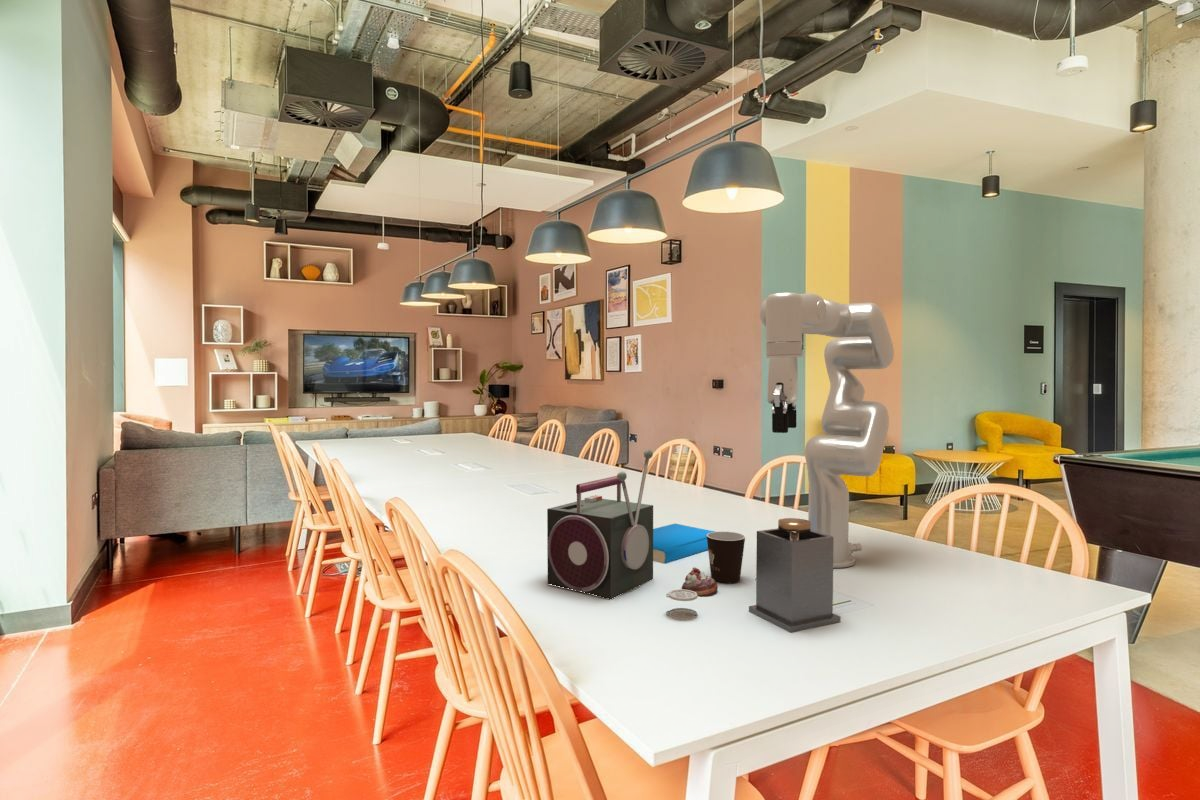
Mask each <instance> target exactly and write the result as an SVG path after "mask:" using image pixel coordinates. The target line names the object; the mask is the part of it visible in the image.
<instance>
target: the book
mask: <svg viewBox="0 0 1200 800" xmlns="http://www.w3.org/2000/svg"><path fill="white" fill-rule="evenodd" d="M712 532H716V531H714V530H709V529H705V528H700V527H694V526H689V525H684V524H680V523H671V524H668V525H663V526H660V527H655V528H653V562H657V563H661V564H667V562H668V563H671V562H674V561H677V560H680V559H683V557H684V558H687V557H689V556H693V555H696V554H700V553H702V552H705V551H708V544H707V534H708V533H712ZM670 561H671V562H670Z"/></svg>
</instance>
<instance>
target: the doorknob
mask: <svg viewBox="0 0 1200 800" xmlns="http://www.w3.org/2000/svg"><path fill="white" fill-rule="evenodd" d="M777 523H778V524H777V526H778V529H779V530H781V531H785V532H790V541H797V540H799V533H806V532H810V531H811V522H810V521H808V520H807V519H803V518H797V517H795V518H794V517H787V518H786V517H785V518H779V519H778V522H777Z"/></svg>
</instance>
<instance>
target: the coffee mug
mask: <svg viewBox="0 0 1200 800" xmlns="http://www.w3.org/2000/svg"><path fill="white" fill-rule="evenodd" d="M745 542H746V536H745V534H742V533H739V532H735V531H715V532H712V533H708V534H707V544H708V550H707V551H708V559H709V570H710V577H711V578H713V579H714V580H715V581H716V583H717V584H722V585H724V584H725V585H732V584H737V583H739V582H740V580H741V574H742V567H743V566H742V565H743V558H744V551H745V550H744V549H745Z"/></svg>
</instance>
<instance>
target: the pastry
mask: <svg viewBox="0 0 1200 800" xmlns="http://www.w3.org/2000/svg"><path fill="white" fill-rule="evenodd" d="M684 580H685V581H683V584H682V585H681V589H685V590H691V591H694V592H696V593H697V597H710V596H712V595H714V594H716V592H718V587H719V586H718V583H717V582H716V581H715V580H714V579H713V578H711V576H707V575H706V574H705V572H704V571H702V570H700V569H699V568H697V567H692V570H691V571H690V572H689V573H688V574H687V575H686V576H685V578H684Z"/></svg>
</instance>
